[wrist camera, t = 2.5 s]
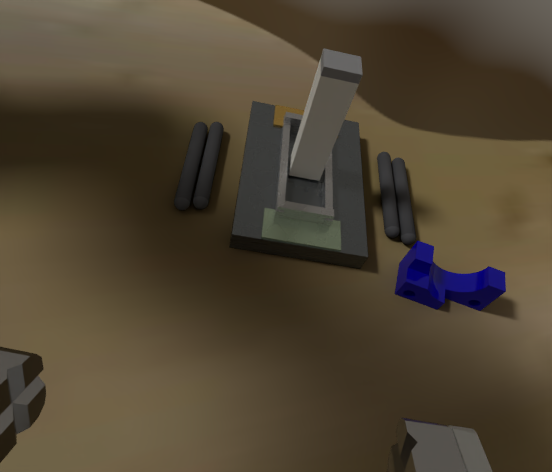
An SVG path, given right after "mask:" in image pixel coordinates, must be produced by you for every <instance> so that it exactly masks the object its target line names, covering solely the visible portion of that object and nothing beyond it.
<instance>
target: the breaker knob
mask: <svg viewBox="0 0 552 472" xmlns="http://www.w3.org/2000/svg"><path fill="white" fill-rule="evenodd" d="M361 77H362V64H361V57H359V56H355V55H350V54H346V53H341V52H337V51H332V50H328V49H323V52H322V56H321V59H320V62H319V65H318V69H317V72H316V75H315V78H314V82H313V85H312V88H311V91H310V95H309V98H308V101H307V105H306V108H305V111H304V114H303V118H302V121H301V124H300V127H299V131H298V134H297V137H296V140H295V144H294V147H293V150H292V154H291V157H290V169H289V175H290V176H296V177H301V178H306V179H312V180H317V181H320V178H321V176H322V173H323V171H324V169H325V166H326V164H327V161H328V159H329V156H330V154H331V151H332V149H333V146H334V144H335V141H336V139H337V136H338V134H339V132H340V129H341V127H342V124H343V122H344V119H345V117H346V114H347V112H348V109H349V107H350V104H351V102H352V99H353V97H354V95H355V92H356V90H357V87H358V85H359V82H360V80H361Z"/></svg>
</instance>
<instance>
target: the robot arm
mask: <svg viewBox="0 0 552 472" xmlns="http://www.w3.org/2000/svg"><path fill="white" fill-rule="evenodd" d="M43 369H44V368H43V362H42V357H41V356H39V355H37V354H34V353H29V352H24V351H19V350H14V349H9V348H4V347H0V463H1V461H2V460H3V459H4V458H5V457H6V456H7V454H8V453H9V452H10V451H11V450H12V448H13V447H14V446H15V445H16V444H17V434H18V433H20V432H22V431H24V430H26V429H28V428H30V427H31V426H32V424H33V423H34V422H35V421H36V419H37V418H38V417H39V415H40V413H41V410H42V408H43V406H44V404H45V397H46V387H45V384H44V383H43V381H42V380H41V379H40V378H39V376H38V375H39V374H40V373H41V372H42V370H43ZM396 436H397V442H398V443H396V444H395V445H393V446H392V447H391V450H390V454H389V458H388V468H387V472H493V471H492V469H491V466H490V464H489V461H488V459H487V457H486V454H485V452H484V449H483V447H482V444H481V442H480V439H479V437H478V435H477V433H476V432H475V431H474V430H473V429H471V428H465V427H458V426H452V425H448V426H447V425H443V424H437V423H431V422H425V421H419V420H413V419H407V418H401V419H400V421H399V422H398V425H397V429H396Z"/></svg>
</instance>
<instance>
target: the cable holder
mask: <svg viewBox="0 0 552 472" xmlns="http://www.w3.org/2000/svg"><path fill="white" fill-rule="evenodd" d="M433 251H434V246H431V245H428V244H426V243H423V242H420V241H417V242H416V243H415V244H414V246H413V247H412V248H411V249H410V251H409V252H408V253H407V254H406V256H405V257H404V258H403V259H402V261H401V262H400V263H399V269H398V276H397V283H396V289H395V294H396V295H399V296H402V297H404V298H407V299H410V300H412V301H415V302H418V303H420V304H423V305H426V306H429V307H431V308H434V309H439V308H440V307H441V306H442V305H443V304H444V303H445V298H446V299H449V300H451V301H454V302H457V303H459V304H462V305H465V306H468V307H470V308H473V309H476V310H478V311H481V310H482V309H483V308H485V307H486V306H487V305H489V304H490V303H491V302H492V301H494V300H495V299H496V298H498V297H499V296H500V295H502V294H503V293H504V292H506V287H505V272H502V271H500V270H497V269H494V268H492V267H489V266H488V267H487V268H486V269H484V270H482V271H479V272H476V273H471V274H457V273H452V272H448V271H445V270H443V269H441V268H440V267H438V266H437V265H436V264H435V263H434V262H433Z"/></svg>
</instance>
